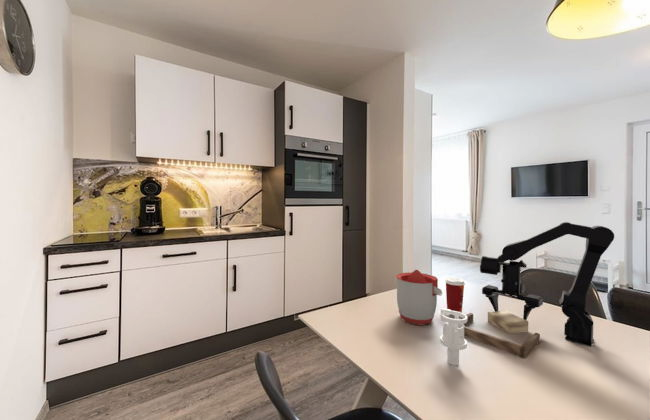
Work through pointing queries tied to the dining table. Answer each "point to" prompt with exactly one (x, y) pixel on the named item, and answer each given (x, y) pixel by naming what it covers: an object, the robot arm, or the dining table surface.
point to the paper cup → (454, 294)
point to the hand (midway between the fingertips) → (510, 317)
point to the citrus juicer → (417, 297)
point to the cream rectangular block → (508, 321)
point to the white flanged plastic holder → (453, 334)
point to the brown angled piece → (501, 340)
